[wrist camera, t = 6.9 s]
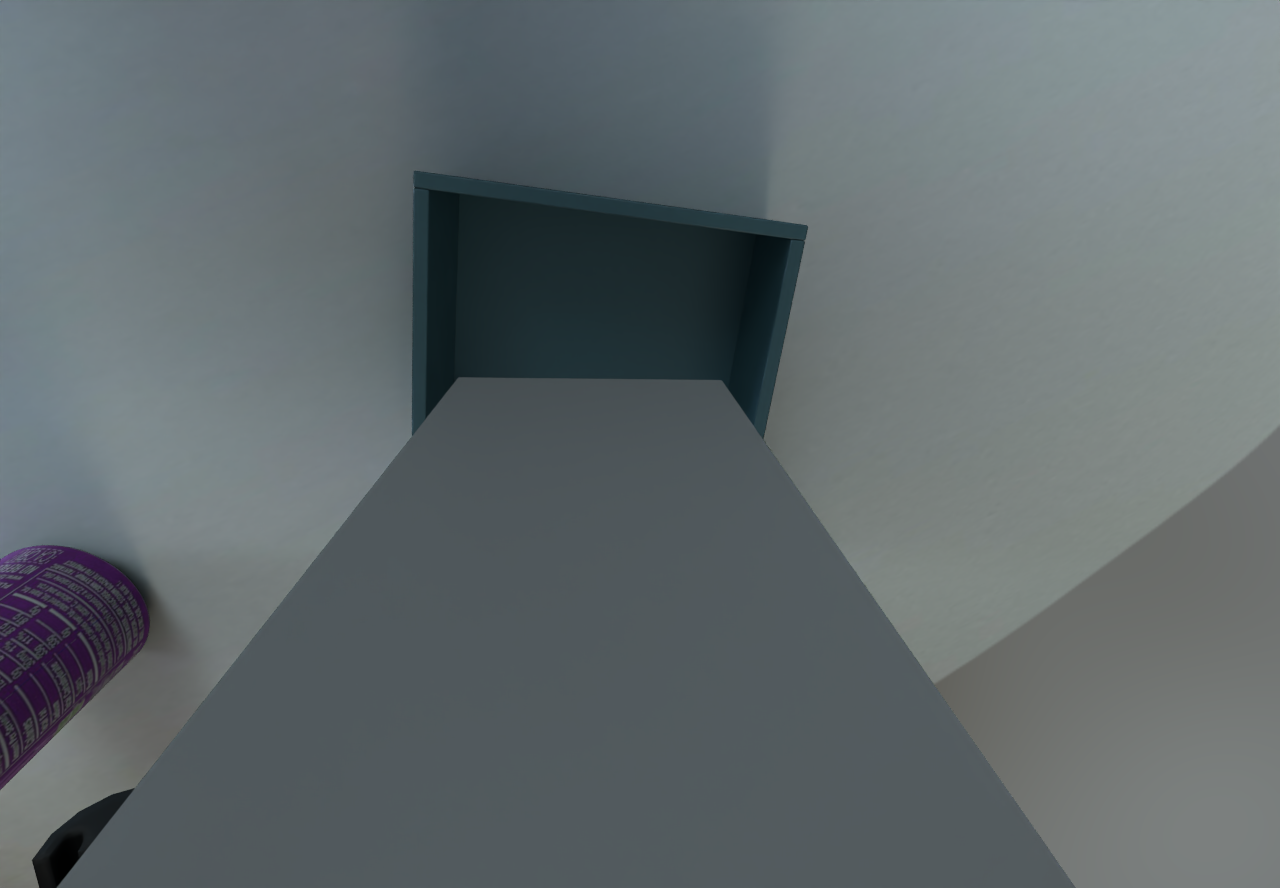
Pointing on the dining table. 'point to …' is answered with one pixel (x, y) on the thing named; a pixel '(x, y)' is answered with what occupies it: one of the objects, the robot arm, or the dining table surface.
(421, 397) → the case
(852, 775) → the perfume bottle
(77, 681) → the beverage can
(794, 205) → the dining table surface
